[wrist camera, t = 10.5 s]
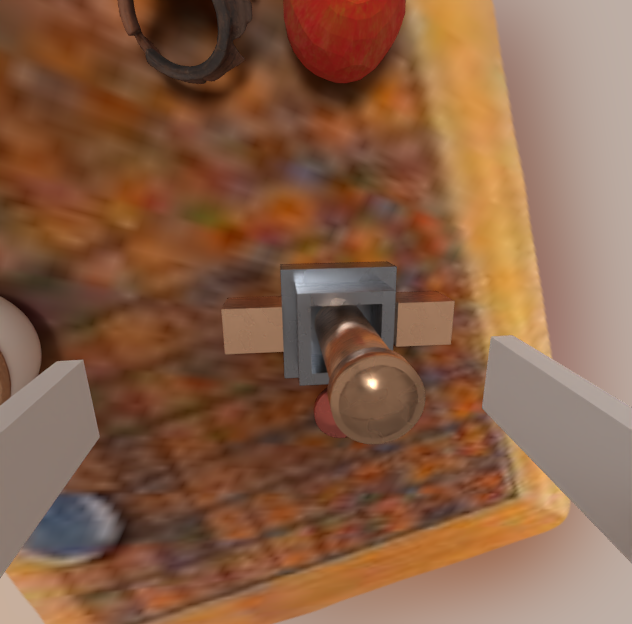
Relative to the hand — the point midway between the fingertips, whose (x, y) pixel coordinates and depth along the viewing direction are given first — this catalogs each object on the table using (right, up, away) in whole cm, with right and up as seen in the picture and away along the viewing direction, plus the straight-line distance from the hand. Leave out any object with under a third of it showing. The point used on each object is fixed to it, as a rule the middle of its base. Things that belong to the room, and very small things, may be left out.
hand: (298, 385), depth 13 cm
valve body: (+2, 0, +25) cm, 25 cm away
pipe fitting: (+3, +1, +22) cm, 22 cm away
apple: (+2, +24, +18) cm, 31 cm away
